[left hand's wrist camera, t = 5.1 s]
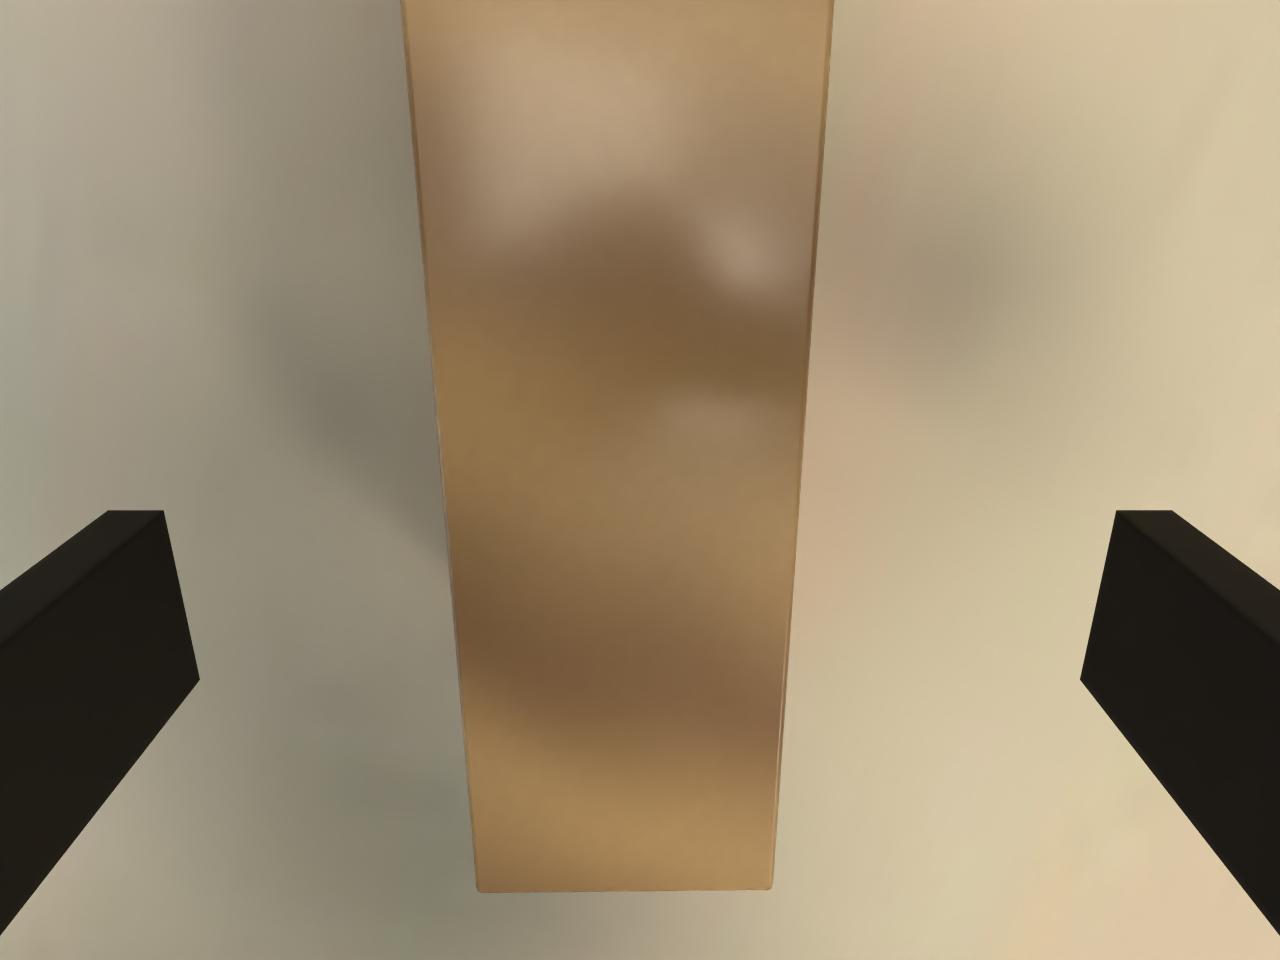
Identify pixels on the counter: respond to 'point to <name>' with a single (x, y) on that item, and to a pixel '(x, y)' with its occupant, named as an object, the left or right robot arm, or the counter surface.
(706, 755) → the post
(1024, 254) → the counter surface
